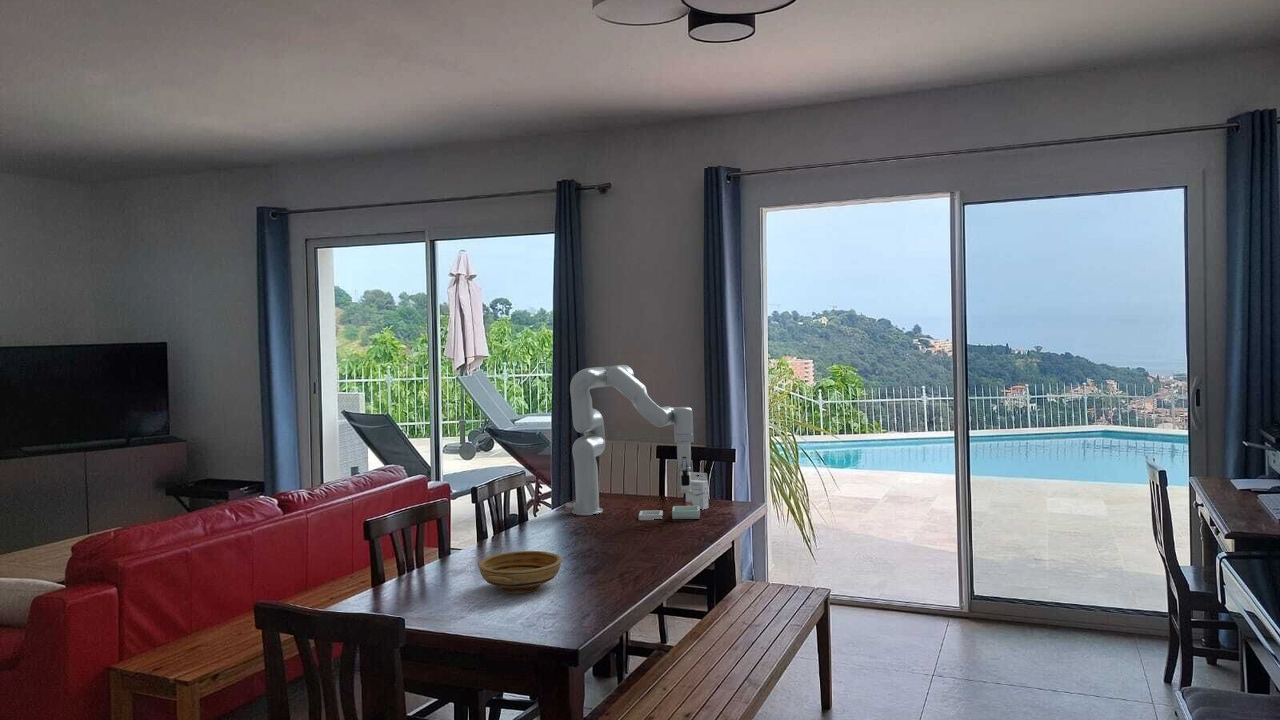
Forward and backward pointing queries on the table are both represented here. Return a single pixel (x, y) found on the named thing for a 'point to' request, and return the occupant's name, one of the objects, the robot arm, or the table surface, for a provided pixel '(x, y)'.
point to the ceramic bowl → (520, 570)
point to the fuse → (686, 488)
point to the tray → (686, 512)
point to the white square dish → (650, 515)
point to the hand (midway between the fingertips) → (685, 484)
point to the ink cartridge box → (698, 491)
